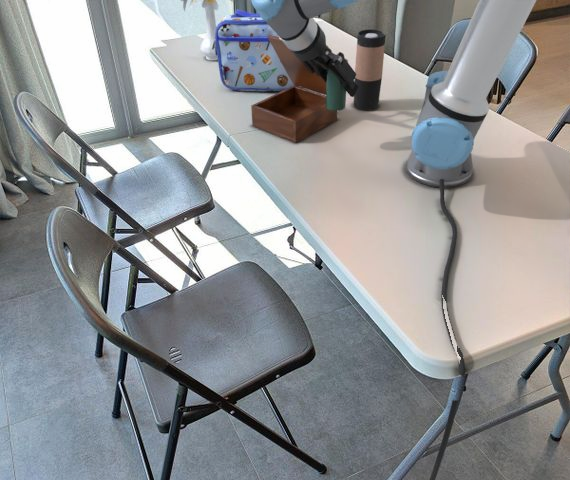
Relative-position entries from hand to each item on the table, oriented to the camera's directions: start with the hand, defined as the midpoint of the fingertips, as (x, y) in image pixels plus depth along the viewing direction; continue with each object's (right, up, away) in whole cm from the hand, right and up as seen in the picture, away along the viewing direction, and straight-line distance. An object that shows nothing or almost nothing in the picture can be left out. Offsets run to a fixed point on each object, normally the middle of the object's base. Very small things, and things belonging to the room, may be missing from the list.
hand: (345, 88), depth 132 cm
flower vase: (-40, +32, +58) cm, 77 cm away
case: (-12, -3, +19) cm, 22 cm away
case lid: (-10, +9, +11) cm, 18 cm away
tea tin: (-2, -4, 0) cm, 5 cm away
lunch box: (-22, +14, +38) cm, 46 cm away
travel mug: (+9, +4, +26) cm, 28 cm away
